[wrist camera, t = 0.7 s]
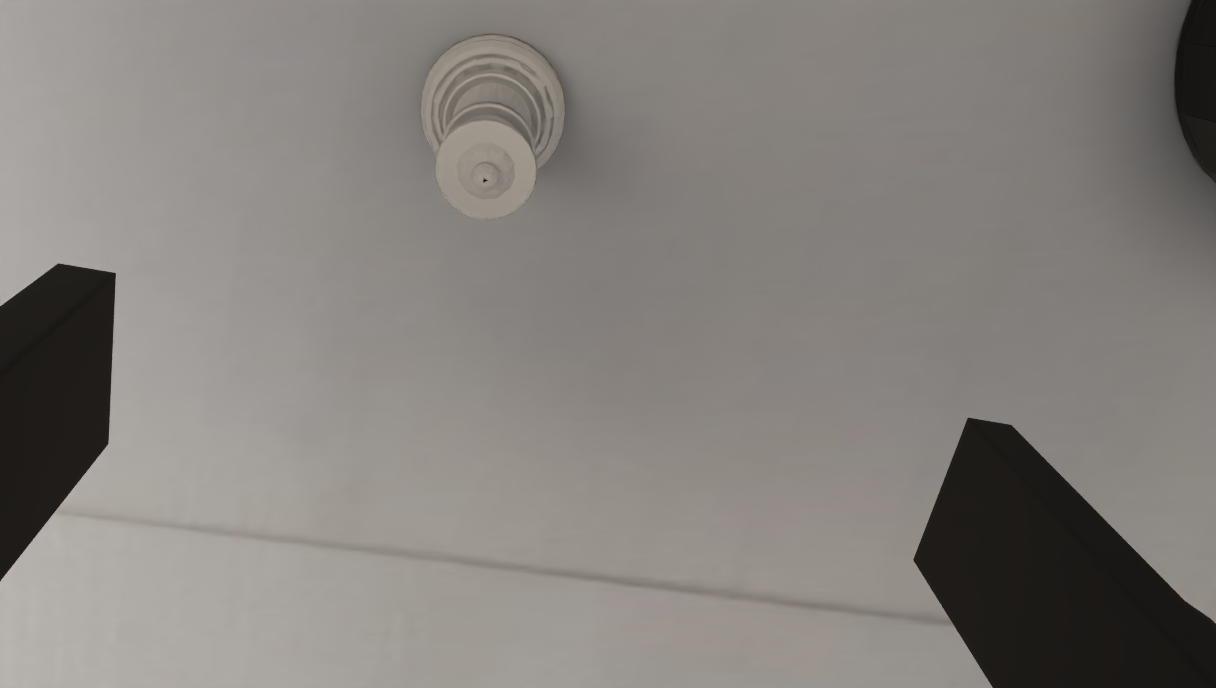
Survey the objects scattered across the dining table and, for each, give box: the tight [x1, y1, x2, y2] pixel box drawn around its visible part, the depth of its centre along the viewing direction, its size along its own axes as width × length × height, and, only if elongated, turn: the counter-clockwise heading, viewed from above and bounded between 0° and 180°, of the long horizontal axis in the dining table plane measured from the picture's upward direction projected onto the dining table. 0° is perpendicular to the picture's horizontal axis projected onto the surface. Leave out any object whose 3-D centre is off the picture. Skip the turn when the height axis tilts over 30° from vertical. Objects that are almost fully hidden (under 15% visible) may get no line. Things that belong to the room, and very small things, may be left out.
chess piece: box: [421, 34, 565, 220], centre depth 27 cm, size 4×4×10 cm
